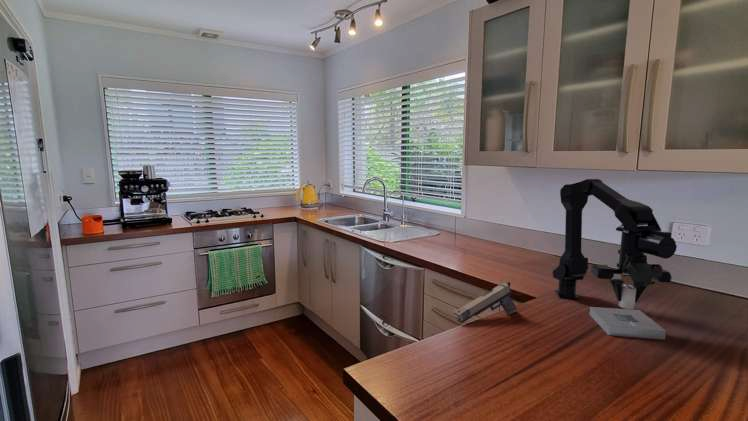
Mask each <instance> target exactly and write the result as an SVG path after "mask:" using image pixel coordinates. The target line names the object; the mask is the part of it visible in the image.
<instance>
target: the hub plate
mask: <svg viewBox="0 0 748 421" xmlns="http://www.w3.org/2000/svg"><path fill="white" fill-rule="evenodd" d="M589 316H590V317H591V318H592V319H593V320H594V321H595V322H596V323H597V324H598V326H600V327H601V328H602V329H603V331H604V332H605V333H606V334H607V335H608V336H615V337H616V336H617V337H626V338H627V337H629V338H641V339H653V340H666V334H667V330H666V329H664V328H663V327H662V326H660V325H659V324H658V323H657V322H655V321H654V320H653V319H652V318H650V317H649V316H648V315H647V314H646V313H644V312H643V311H642V310H639V309H625V308H616V307H615V308H613V307H599V306H597V307H596V306H590V307H589Z"/></svg>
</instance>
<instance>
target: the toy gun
mask: <svg viewBox="0 0 748 421" xmlns="http://www.w3.org/2000/svg"><path fill="white" fill-rule="evenodd" d="M510 288H511V282H510V281H508V282H507V283H505V282H502V283H499V284H498V285H496V286H495V287H493V288H492V289H491V290H490V291H488V292H486V293H485V294H484V295H480V296H478V297H477V298H475V299H473V300H472V301H470V302H468V303H466V304H464V305H463V306H462V307H460V308H458V309H457V310H454V318H455V320H457V322H459V323H460V324H462V323H463V324H464V322H467V320H469V319H471V318H473V317H474V316H479V315H480V314H481V313H483V312H485V311H486V310H489V309H490V310H491V311H494V310H496V309H498V308H499V307H502V308H503V311H504V313H506V314H508V315H511V314H513V313H514V312H516V311H518V308H517V306H516V304H515V302H514V301H513V299H512V298H511V295H512V290H511V289H510ZM496 304H497V305H496ZM494 305H495V306H494Z"/></svg>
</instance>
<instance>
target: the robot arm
mask: <svg viewBox="0 0 748 421" xmlns="http://www.w3.org/2000/svg"><path fill="white" fill-rule="evenodd" d="M559 194H560V196H559V197H560V203H561V205H562V206H563V207H564V210H565V230H564V231H565V234H564V241H565V243H564V252H563V253H562V255H561V256H560V258H559V264H558V266H557V267H556V268H554V270H552V272H551V273H552V277H553V278H554V279H555V280H558V287H557V290H554V293H555V294H556V295H557V296H558V298H561V299H575V300H579V299H580V296H579V295H577V284H578V281H583V280H584V278H585V276H586V274H588V272H587V271H588V270H589V258H588V257H585V256H584V254H583V252H582V237H583V236H582V234H583V231H582V230H583V229H582V228H583V226H582V225H583V210H584V208H585V207H586V205H587V203H588V201H589V200H588V199H589V197H590V196H593V197H595V198H596V199H597V200H599V201H600V202H601V203H602V204H604V205H606V206H607V207H608V208H610V210H612V211H613V213H614V218H616V219H617V220H618V221H619V222H620V225H619V226H617V227H616V228H615V231H617V232H621V238H620V239H621V241H620V247H619V248H620V249H618V250H617V253H618V255H619V257H618V262H617V263H616V267H617V268H612V267H610V266H609V265H608V264H600V263H599V264H597V263H596V264H595V263H593V265H591V268H590V274H592V275H593V276H595V277H596V278H597V279H600V280H609V282H610V284H611V285H612V286H611V287H612V289H613V292H614V294H615V298H616V300H617V301H618V302H619V301H621V295H622V285H624V283H625V281H624V280H623V279H622V277H630V279H631V281H632V282H633V286H634V287H636V288H637V289H636V298H635V304H636V303H637V302H638V300H639V298H641V295H642V294H643V292H644V291H645V290H646V289H647V287H649V286H651V285H655V284H656V282H655V281H653V280H654V279H655V280H657V282H659V283H669V284H670V283H672V278H673V276H672V274H671V273H670V272H669V271H668V270H666V269H664V268H663V266H662V265H661V264H657V263H656V264H655V263H648V256H647V255H650V256H654V257H658V258H662V259H670V258H671V257H673V256H674V255H675V253H676V252H677V248H678V246H677V244H676V241H675V239H674V238H673V237H672V232H669V231H662V228H661V227H660V224H659V223H658V221H657V219H656V217H655V215H654V213H653V211H654V210H653V208H651V206H649V205H647V204H644V203H642V202H639V201H635V200H632V199H629V198H627V197H625V196H624V195H622V194H620V193H619V192H618V191H616V190H615V189H613V188H612V187H610V186H609V185H607V184H606V183H604V182H603V181H602V179H599V178H586V179H583V180H581V181H578V182H574V183H569V184H567V183H566V184H563V186H562V187H561V188H560V190H559Z"/></svg>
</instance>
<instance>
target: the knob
mask: <svg viewBox="0 0 748 421" xmlns="http://www.w3.org/2000/svg"><path fill="white" fill-rule="evenodd" d="M636 289H637V288H636V287H634V285H630V284H622V295H621V301H618V307H620V308H621V309H630V310H635V304H636V303H635V298H636Z"/></svg>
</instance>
